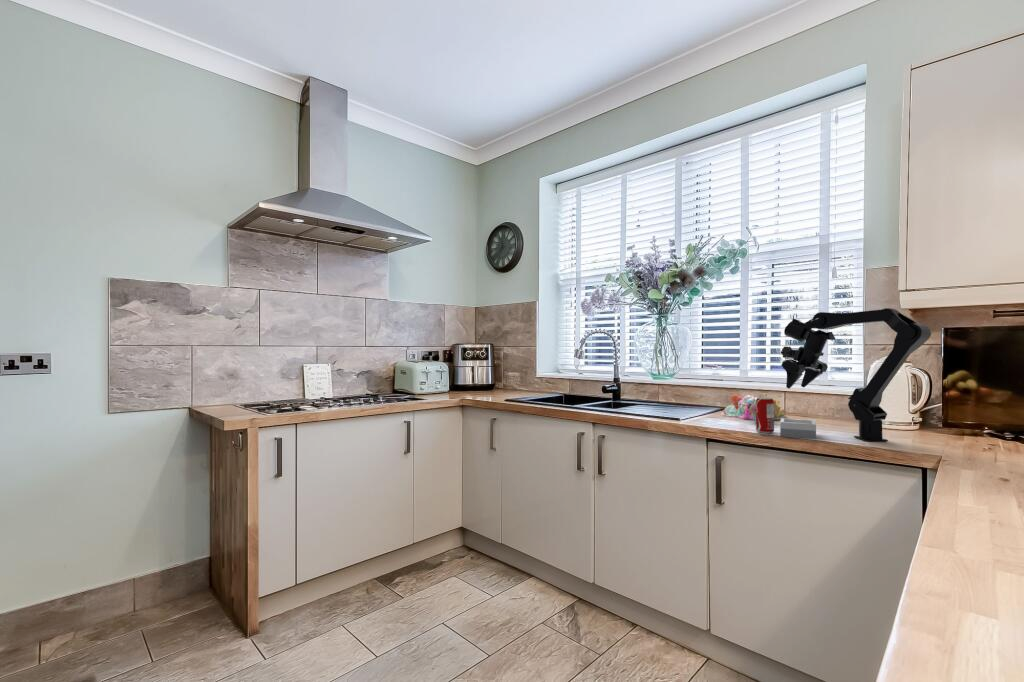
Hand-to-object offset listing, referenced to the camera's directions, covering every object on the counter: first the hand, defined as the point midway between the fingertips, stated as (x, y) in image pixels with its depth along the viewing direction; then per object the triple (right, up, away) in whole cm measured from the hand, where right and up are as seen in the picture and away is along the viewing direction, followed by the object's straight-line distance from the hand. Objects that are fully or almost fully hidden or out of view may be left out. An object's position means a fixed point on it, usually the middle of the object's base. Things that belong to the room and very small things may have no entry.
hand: (795, 387), depth 176 cm
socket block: (-6, -15, -11) cm, 19 cm away
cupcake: (-5, -15, +14) cm, 21 cm away
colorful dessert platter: (0, -15, +31) cm, 35 cm away
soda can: (-14, -15, -6) cm, 21 cm away
